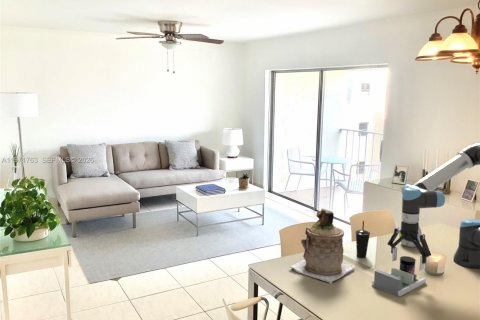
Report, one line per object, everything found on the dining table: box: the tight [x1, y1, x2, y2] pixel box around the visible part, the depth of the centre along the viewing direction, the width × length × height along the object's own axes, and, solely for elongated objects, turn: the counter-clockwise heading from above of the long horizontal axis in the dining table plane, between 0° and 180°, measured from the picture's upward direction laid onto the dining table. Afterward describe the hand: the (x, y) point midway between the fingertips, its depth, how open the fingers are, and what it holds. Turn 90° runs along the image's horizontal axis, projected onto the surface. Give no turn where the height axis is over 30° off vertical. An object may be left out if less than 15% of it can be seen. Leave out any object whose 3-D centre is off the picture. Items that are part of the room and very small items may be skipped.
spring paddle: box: [390, 267, 414, 285], centre depth 189 cm, size 5×10×5 cm, turn 39°
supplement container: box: [398, 255, 416, 281], centre depth 192 cm, size 7×7×10 cm
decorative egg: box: [398, 226, 423, 248], centre depth 239 cm, size 12×12×15 cm
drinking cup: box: [355, 220, 371, 259], centre depth 221 cm, size 8×8×20 cm
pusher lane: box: [371, 269, 427, 298], centre depth 189 cm, size 22×14×7 cm, turn 129°
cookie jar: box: [289, 208, 356, 285], centre depth 202 cm, size 25×25×32 cm
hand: (407, 265), depth 192 cm, fingers open, 13 cm apart
